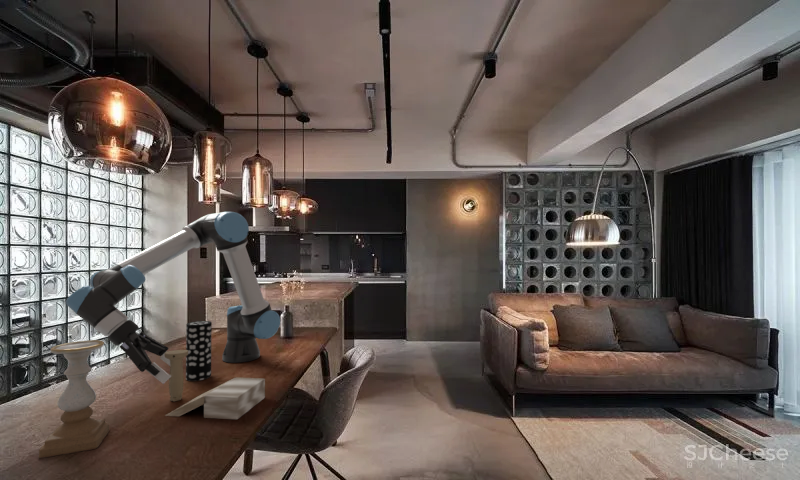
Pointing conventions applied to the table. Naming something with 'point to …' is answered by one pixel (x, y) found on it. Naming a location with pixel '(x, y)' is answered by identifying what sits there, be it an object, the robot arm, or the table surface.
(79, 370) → the candle holder
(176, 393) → the handle
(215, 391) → the ramp bench
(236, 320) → the robot arm
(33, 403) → the table surface
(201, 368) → the white-spotted black cylinder
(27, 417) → the table surface
